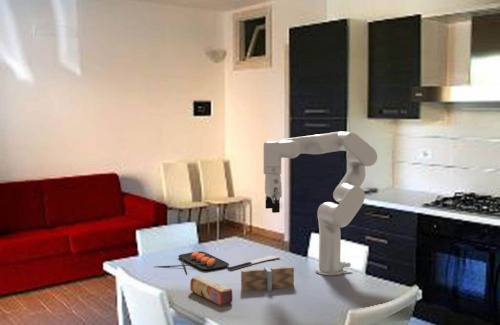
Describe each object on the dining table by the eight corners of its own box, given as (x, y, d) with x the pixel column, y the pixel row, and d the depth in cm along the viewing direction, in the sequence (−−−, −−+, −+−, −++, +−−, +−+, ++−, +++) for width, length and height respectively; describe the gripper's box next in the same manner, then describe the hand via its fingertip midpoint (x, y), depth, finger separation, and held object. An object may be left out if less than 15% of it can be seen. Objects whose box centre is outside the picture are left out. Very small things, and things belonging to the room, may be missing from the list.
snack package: (234, 304, 200) (234, 286, 199) (220, 308, 196) (219, 290, 195) (202, 289, 216) (202, 273, 216) (189, 292, 212) (188, 276, 212)
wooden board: (292, 285, 220) (292, 266, 219) (293, 286, 219) (293, 267, 218) (241, 289, 215) (241, 270, 214) (242, 291, 213) (242, 271, 213)
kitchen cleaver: (267, 253, 267) (281, 255, 259) (267, 256, 267) (281, 258, 259) (219, 266, 246) (232, 268, 239) (219, 269, 246) (233, 272, 239)
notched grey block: (263, 285, 220) (263, 267, 219) (267, 285, 220) (267, 266, 219) (268, 290, 213) (268, 271, 213) (271, 290, 214) (271, 271, 213)
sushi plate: (231, 268, 246) (231, 260, 245) (172, 280, 229) (172, 271, 229) (202, 254, 270) (201, 247, 269) (146, 263, 253) (146, 256, 253)
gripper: (287, 172, 215) (287, 213, 217) (275, 168, 232) (275, 206, 234) (269, 173, 214) (269, 214, 215) (258, 168, 230) (258, 207, 232)
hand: (272, 210), depth 225 cm, fingers open, 9 cm apart
